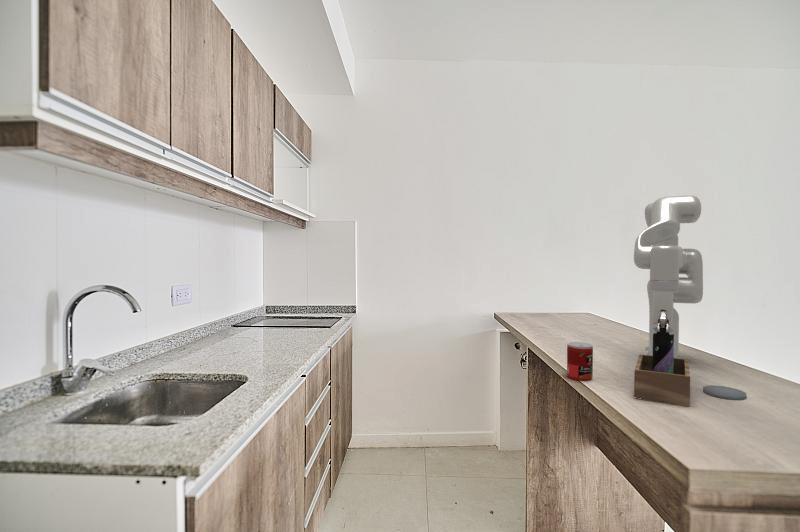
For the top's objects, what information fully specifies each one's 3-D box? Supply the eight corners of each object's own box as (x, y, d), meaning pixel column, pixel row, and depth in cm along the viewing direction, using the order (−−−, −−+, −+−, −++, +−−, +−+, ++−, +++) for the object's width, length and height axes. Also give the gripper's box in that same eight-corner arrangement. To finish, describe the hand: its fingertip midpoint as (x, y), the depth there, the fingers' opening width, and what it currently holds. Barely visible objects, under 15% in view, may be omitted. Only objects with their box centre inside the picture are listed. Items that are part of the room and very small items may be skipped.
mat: (694, 389, 130) (694, 385, 130) (726, 388, 131) (726, 385, 131) (722, 400, 120) (722, 397, 120) (755, 399, 121) (755, 395, 121)
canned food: (581, 382, 137) (581, 347, 137) (561, 376, 144) (561, 343, 144) (598, 379, 141) (598, 345, 140) (577, 373, 148) (578, 340, 148)
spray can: (652, 387, 132) (653, 321, 131) (651, 382, 136) (652, 319, 136) (673, 390, 129) (674, 323, 128) (672, 385, 134) (673, 320, 133)
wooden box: (639, 378, 141) (639, 354, 141) (687, 385, 134) (688, 359, 134) (634, 398, 122) (634, 369, 122) (689, 406, 115) (690, 376, 115)
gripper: (650, 284, 141) (650, 337, 141) (648, 287, 126) (647, 346, 127) (678, 285, 137) (677, 339, 137) (678, 288, 122) (678, 349, 123)
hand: (663, 342), depth 132 cm, fingers open, 9 cm apart
